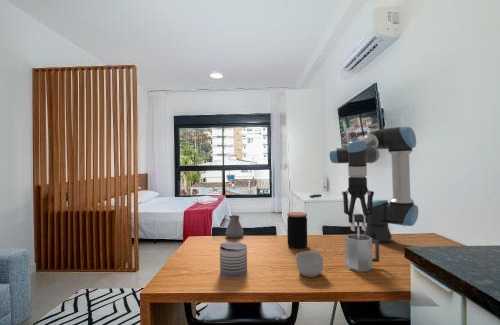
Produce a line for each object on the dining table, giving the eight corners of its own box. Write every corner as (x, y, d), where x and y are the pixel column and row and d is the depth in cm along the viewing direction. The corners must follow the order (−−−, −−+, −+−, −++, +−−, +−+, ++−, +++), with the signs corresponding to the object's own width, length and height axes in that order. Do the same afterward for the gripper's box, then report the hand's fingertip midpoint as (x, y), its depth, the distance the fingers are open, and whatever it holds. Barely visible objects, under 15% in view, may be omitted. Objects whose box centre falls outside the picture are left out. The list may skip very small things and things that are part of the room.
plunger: (364, 257, 125) (363, 212, 126) (371, 263, 117) (371, 216, 118) (346, 257, 126) (345, 213, 126) (352, 263, 118) (351, 216, 118)
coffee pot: (224, 235, 180) (224, 211, 180) (242, 233, 182) (241, 210, 182) (228, 244, 159) (228, 217, 159) (248, 242, 161) (248, 216, 162)
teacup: (318, 281, 107) (317, 260, 107) (291, 276, 113) (291, 256, 113) (328, 269, 119) (328, 251, 119) (304, 265, 125) (304, 247, 125)
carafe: (373, 262, 127) (373, 234, 127) (384, 271, 116) (383, 240, 116) (343, 262, 127) (342, 234, 127) (350, 271, 116) (350, 240, 117)
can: (220, 268, 122) (220, 241, 122) (246, 267, 123) (246, 240, 123) (219, 279, 111) (219, 248, 111) (248, 278, 111) (247, 247, 111)
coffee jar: (306, 243, 158) (305, 211, 158) (308, 249, 147) (307, 215, 147) (287, 243, 159) (286, 211, 159) (287, 249, 148) (287, 215, 148)
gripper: (373, 176, 125) (374, 228, 125) (335, 176, 126) (336, 228, 126) (381, 176, 118) (381, 232, 118) (340, 177, 118) (341, 232, 118)
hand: (358, 230), depth 122 cm, fingers closed on plunger, 4 cm apart
